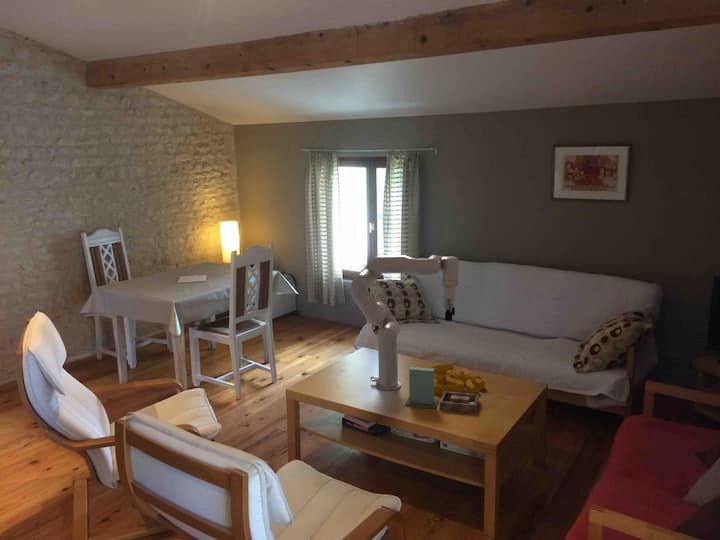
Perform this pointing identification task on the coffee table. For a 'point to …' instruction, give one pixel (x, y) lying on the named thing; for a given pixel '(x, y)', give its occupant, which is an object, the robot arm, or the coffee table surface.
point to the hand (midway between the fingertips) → (449, 317)
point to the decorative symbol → (455, 380)
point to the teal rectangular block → (421, 385)
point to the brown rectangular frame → (459, 406)
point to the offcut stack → (460, 399)
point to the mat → (422, 404)
